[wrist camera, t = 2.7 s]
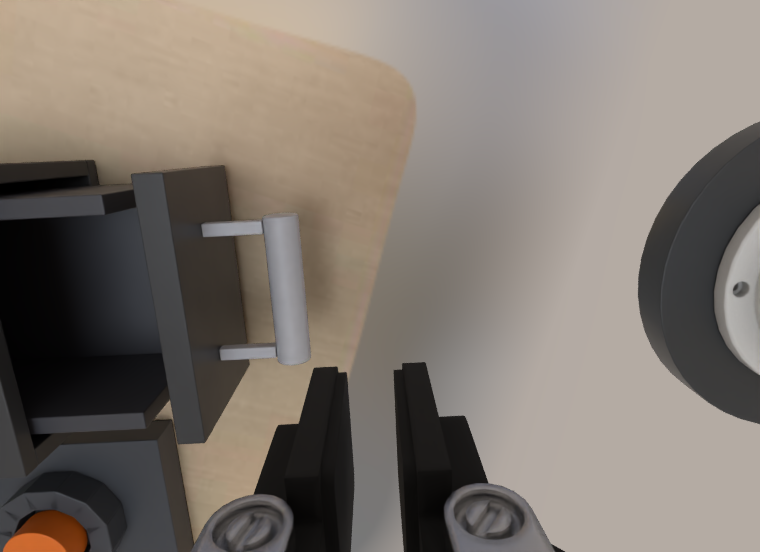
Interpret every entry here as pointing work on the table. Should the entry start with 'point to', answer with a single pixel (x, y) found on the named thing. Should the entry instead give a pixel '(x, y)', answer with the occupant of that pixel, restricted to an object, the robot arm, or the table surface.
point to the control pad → (108, 490)
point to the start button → (49, 534)
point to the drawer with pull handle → (138, 301)
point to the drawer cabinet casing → (3, 402)
